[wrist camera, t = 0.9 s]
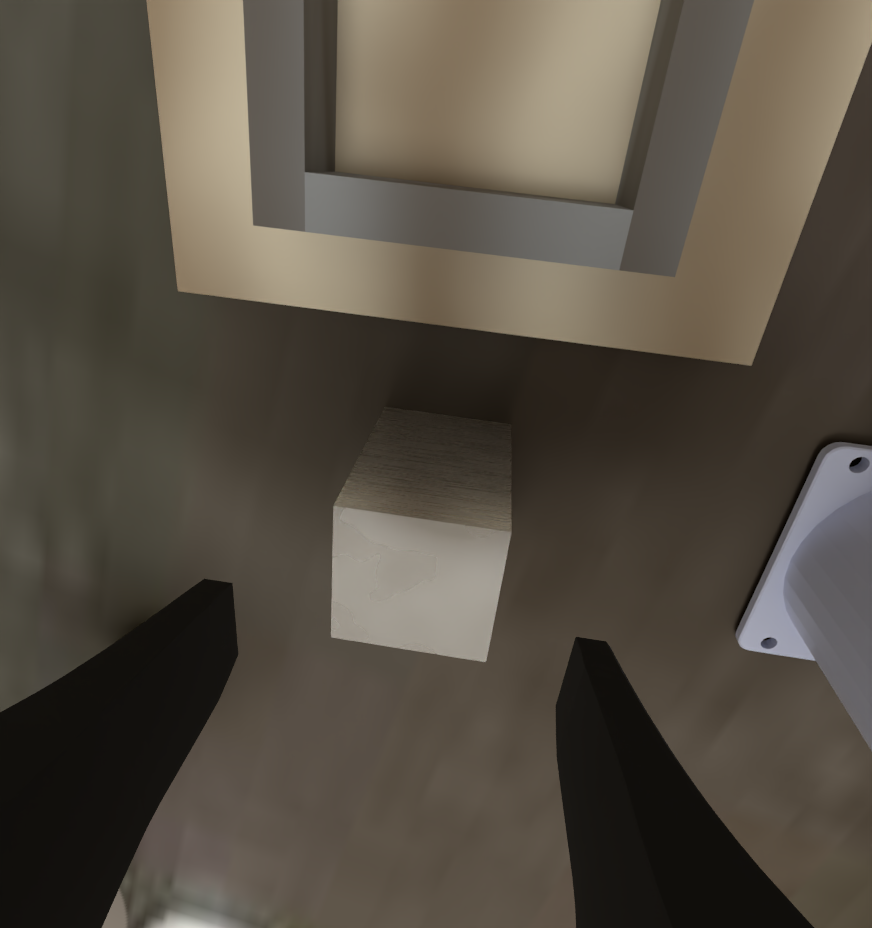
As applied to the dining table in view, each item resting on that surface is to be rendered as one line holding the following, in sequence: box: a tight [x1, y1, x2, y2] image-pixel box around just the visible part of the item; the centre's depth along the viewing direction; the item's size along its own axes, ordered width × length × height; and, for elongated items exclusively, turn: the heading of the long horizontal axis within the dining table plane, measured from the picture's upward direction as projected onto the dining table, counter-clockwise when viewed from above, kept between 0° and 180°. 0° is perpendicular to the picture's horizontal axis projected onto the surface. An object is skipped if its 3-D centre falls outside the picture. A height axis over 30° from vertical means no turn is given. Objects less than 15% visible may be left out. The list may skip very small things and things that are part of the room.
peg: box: [331, 407, 511, 662], centre depth 16 cm, size 4×4×6 cm
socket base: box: [147, 0, 872, 366], centre depth 12 cm, size 16×14×3 cm
